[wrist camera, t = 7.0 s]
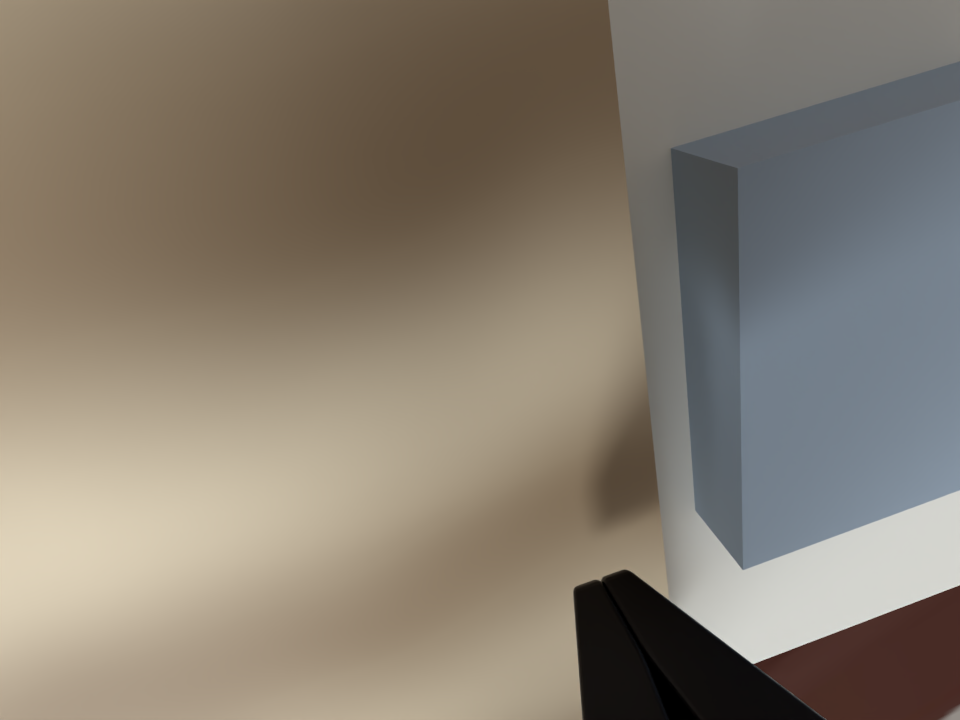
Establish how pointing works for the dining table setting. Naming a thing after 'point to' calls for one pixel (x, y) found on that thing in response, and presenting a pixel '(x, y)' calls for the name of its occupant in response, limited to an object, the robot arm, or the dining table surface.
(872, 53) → the mat
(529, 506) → the beige flat block
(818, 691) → the dining table surface
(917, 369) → the block
